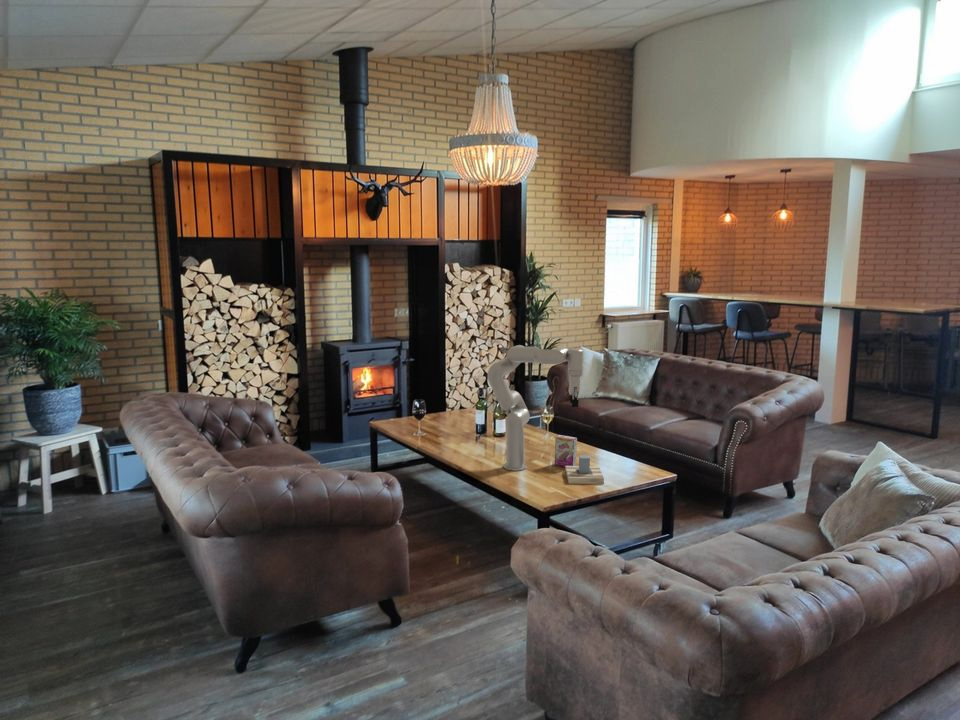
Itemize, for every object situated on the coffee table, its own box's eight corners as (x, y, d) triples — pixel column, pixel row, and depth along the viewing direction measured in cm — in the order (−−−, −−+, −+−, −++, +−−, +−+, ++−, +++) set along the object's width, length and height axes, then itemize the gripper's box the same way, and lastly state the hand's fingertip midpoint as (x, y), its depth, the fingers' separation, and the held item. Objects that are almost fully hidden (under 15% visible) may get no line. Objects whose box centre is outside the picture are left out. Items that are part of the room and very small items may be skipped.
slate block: (578, 469, 377) (579, 455, 376) (588, 470, 377) (588, 455, 376) (579, 472, 372) (580, 458, 371) (589, 473, 372) (589, 458, 371)
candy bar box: (554, 465, 396) (554, 436, 393) (558, 462, 400) (558, 434, 397) (572, 468, 390) (573, 439, 387) (576, 466, 394) (577, 437, 392)
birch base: (565, 471, 385) (565, 465, 385) (598, 471, 385) (598, 466, 384) (568, 483, 365) (568, 477, 365) (603, 483, 365) (604, 477, 364)
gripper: (566, 369, 378) (565, 401, 381) (569, 375, 361) (568, 408, 364) (580, 369, 378) (579, 401, 380) (584, 375, 361) (583, 408, 363)
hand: (574, 404), depth 372 cm, fingers open, 9 cm apart
